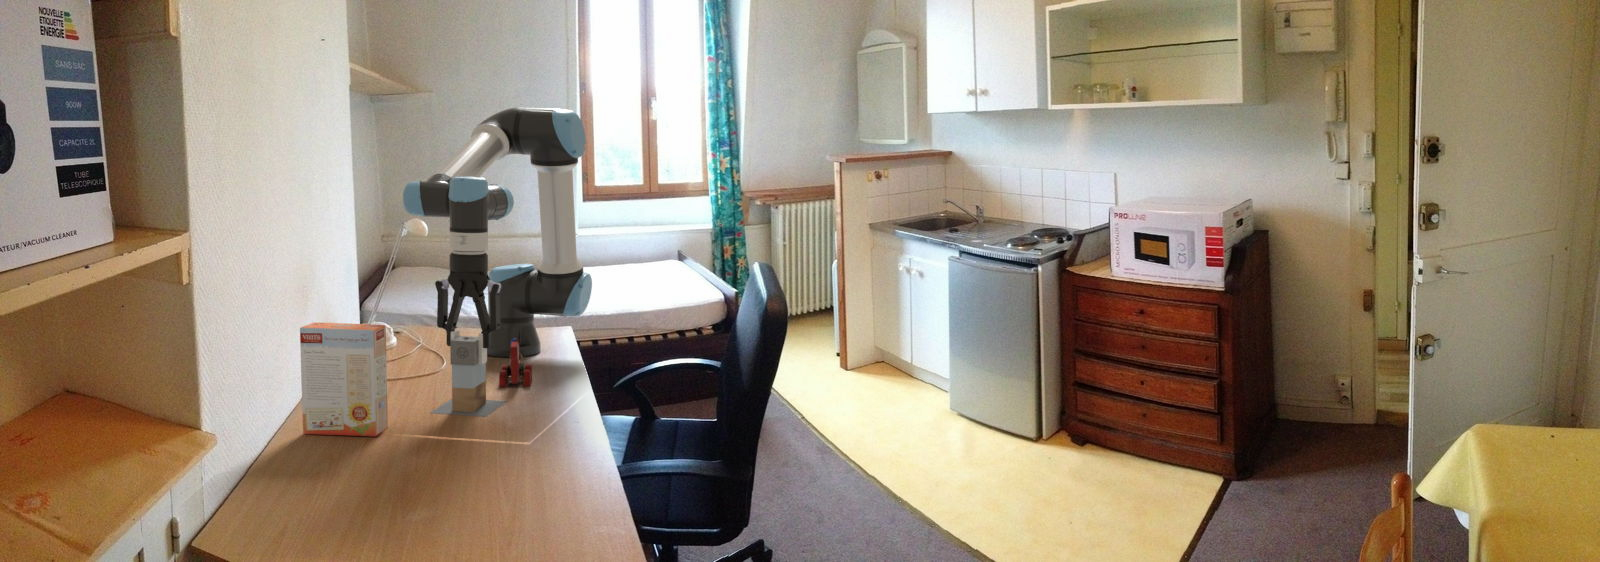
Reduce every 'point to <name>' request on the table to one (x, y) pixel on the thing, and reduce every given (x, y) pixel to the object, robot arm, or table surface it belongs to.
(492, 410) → the mat
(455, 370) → the tower mid
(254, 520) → the table surface
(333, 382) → the cracker box
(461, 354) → the dice cube
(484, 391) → the tower base
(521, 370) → the toy fire truck
